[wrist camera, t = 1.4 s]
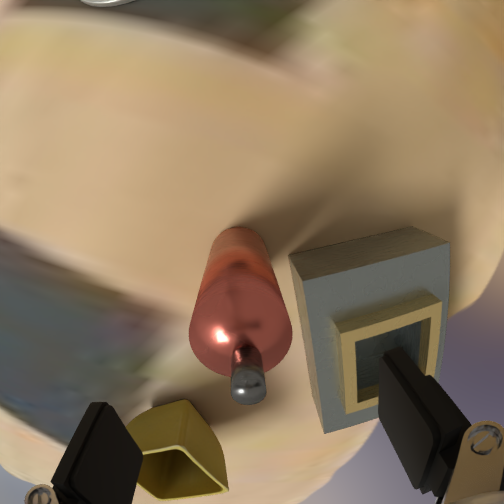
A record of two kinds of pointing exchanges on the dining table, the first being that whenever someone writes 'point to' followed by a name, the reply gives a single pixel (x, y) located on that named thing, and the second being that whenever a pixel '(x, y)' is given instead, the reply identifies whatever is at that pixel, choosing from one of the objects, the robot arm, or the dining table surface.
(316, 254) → the grey box with hole
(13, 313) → the dining table surface
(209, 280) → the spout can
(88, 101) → the dining table surface
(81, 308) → the dining table surface
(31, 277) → the dining table surface
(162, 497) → the flower pot
